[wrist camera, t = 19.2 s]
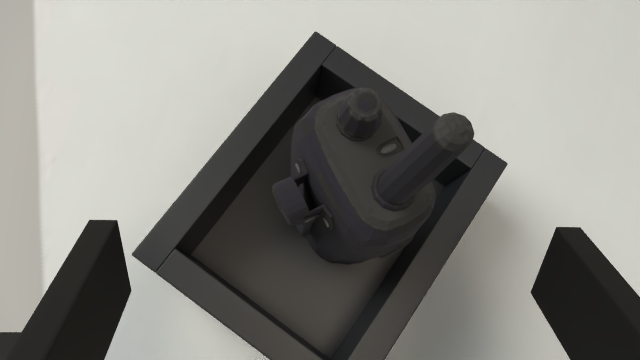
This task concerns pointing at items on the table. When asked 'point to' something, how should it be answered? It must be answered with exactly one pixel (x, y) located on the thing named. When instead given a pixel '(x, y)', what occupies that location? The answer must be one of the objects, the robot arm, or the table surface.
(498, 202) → the table surface
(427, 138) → the two-way radio
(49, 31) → the table surface
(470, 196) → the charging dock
